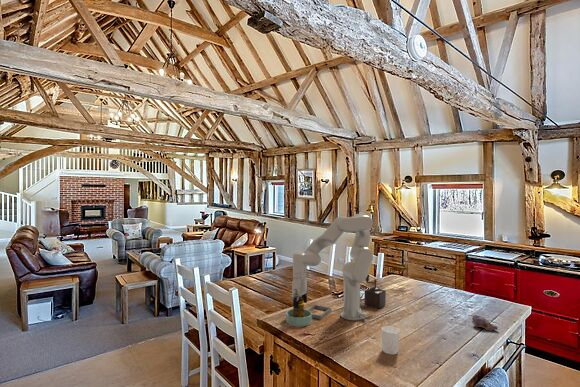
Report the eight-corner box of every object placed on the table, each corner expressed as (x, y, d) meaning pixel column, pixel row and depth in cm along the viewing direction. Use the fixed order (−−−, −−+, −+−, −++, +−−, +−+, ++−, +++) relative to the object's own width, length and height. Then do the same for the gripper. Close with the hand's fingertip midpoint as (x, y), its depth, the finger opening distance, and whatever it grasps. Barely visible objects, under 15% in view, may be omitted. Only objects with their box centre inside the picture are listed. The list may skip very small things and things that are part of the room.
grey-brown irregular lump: (499, 330, 172) (499, 319, 171) (494, 334, 167) (494, 322, 167) (475, 323, 181) (475, 312, 181) (469, 327, 176) (469, 315, 176)
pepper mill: (386, 304, 209) (387, 276, 209) (378, 308, 201) (379, 280, 201) (365, 298, 220) (365, 272, 220) (356, 302, 212) (357, 275, 212)
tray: (331, 311, 196) (331, 307, 196) (320, 319, 183) (320, 316, 183) (314, 307, 202) (314, 304, 202) (303, 315, 189) (303, 312, 189)
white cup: (378, 347, 151) (379, 325, 151) (395, 346, 152) (395, 325, 152) (385, 355, 143) (385, 333, 143) (402, 355, 144) (402, 332, 144)
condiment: (307, 319, 180) (307, 298, 180) (295, 323, 175) (295, 301, 175) (298, 315, 186) (299, 295, 186) (287, 319, 181) (287, 297, 181)
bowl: (316, 319, 183) (316, 311, 183) (304, 328, 171) (304, 320, 171) (294, 314, 191) (294, 306, 191) (281, 322, 178) (281, 314, 178)
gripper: (301, 270, 190) (301, 299, 190) (286, 277, 175) (286, 309, 175) (312, 272, 186) (313, 301, 186) (298, 279, 171) (298, 311, 172)
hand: (300, 305), depth 181 cm, fingers open, 9 cm apart
